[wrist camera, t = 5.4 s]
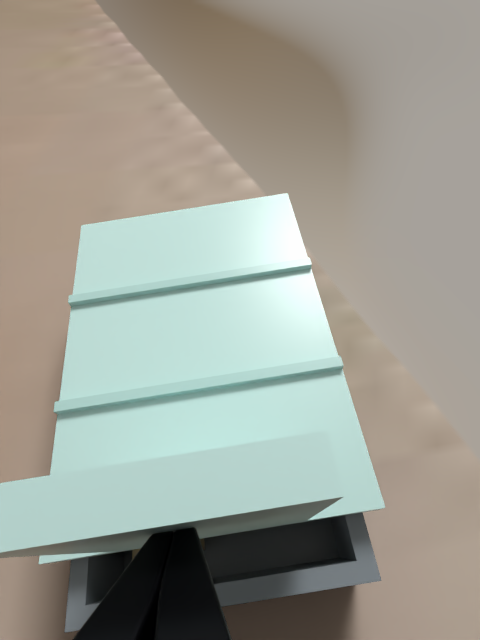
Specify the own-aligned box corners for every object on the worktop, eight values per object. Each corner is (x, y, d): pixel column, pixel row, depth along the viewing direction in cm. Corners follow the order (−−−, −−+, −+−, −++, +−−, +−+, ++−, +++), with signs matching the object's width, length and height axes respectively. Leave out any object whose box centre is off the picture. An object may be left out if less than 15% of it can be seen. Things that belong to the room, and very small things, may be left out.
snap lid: (379, 509, 12) (506, 470, 6) (51, 562, 12) (-217, 587, 5) (286, 205, 20) (294, 37, 13) (88, 236, 20) (-4, 83, 13)
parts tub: (356, 571, 15) (381, 580, 11) (112, 611, 15) (64, 632, 11) (286, 294, 22) (288, 249, 19) (122, 320, 22) (95, 279, 19)
